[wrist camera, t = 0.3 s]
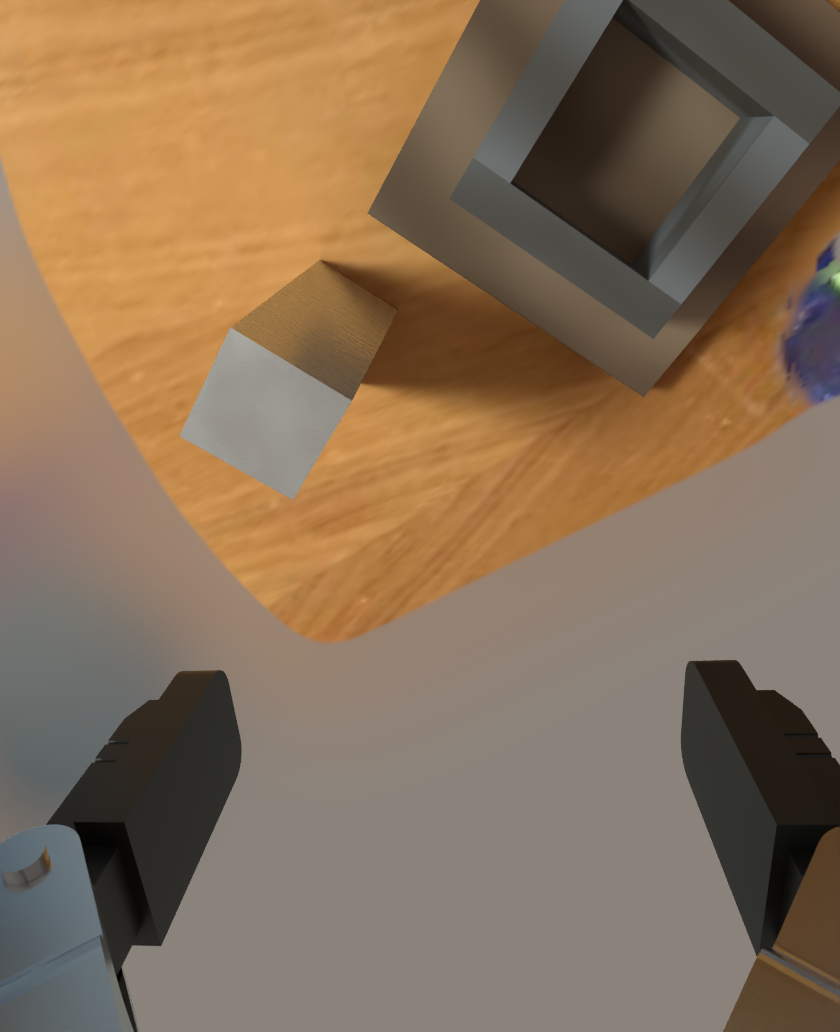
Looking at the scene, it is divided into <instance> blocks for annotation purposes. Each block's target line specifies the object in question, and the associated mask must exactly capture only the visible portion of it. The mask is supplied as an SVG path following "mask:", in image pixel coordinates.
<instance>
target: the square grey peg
mask: <svg viewBox="0 0 840 1032" xmlns="http://www.w3.org/2000/svg"><path fill="white" fill-rule="evenodd" d="M397 311H398V310H397V309H395V308H394V307H392V306H391V305H389V304H388V303H386V302H384V301H383V300H381V299H380V298H378V297H377V296H375V295H374V294H372V293H370V292H369V291H367V290H366V289H364V288H363V287H361V286H360V285H358V284H356V283H355V282H353V281H352V280H350V279H349V278H347V277H345V276H344V275H342V274H341V273H339V272H338V271H336V270H335V269H333V268H331V267H330V266H328V265H327V264H325V263H324V262H322V261H321V260H319V261H318V262H316V263H315V264H314V265H312V266H311V267H310V268H308V269H307V270H306V271H304V272H303V273H302V274H300V275H299V276H298V277H296V278H295V279H294V280H293V281H291V282H290V283H289V284H287V285H286V286H285V287H283V288H282V289H281V290H279V291H278V292H277V293H275V294H274V295H273V296H271V297H270V298H269V299H268V300H266V301H265V302H264V303H262V304H261V305H260V306H258V307H257V308H256V309H254V310H253V311H252V312H250V313H249V314H248V315H246V316H245V317H244V318H242V319H241V320H240V321H239V322H237V323H236V324H235V325H233V326H232V327H231V328H230V330H229V332H228V334H227V336H226V338H225V340H224V343H223V345H222V347H221V349H220V351H219V353H218V355H217V357H216V360H215V362H214V364H213V366H212V368H211V370H210V372H209V374H208V377H207V379H206V381H205V383H204V385H203V387H202V389H201V391H200V394H199V396H198V398H197V400H196V402H195V404H194V406H193V409H192V411H191V413H190V415H189V417H188V419H187V421H186V423H185V426H184V428H183V430H182V432H181V434H180V437H182V438H184V439H186V440H187V441H189V442H191V443H193V444H194V445H196V446H198V447H200V448H202V449H203V450H205V451H207V452H209V453H210V454H212V455H214V456H216V457H218V458H219V459H221V460H223V461H225V462H226V463H228V464H230V465H232V466H234V467H235V468H237V469H239V470H241V471H242V472H244V473H246V474H248V475H250V476H251V477H253V478H255V479H257V480H258V481H260V482H262V483H264V484H266V485H267V486H269V487H271V488H273V489H274V490H276V491H278V492H280V493H281V494H283V495H285V496H287V497H289V498H290V499H292V500H293V499H294V497H295V495H296V494H297V492H298V490H299V489H300V487H301V485H302V484H303V482H304V480H305V479H306V477H307V475H308V474H309V472H310V470H311V469H312V467H313V465H314V464H315V462H316V460H317V459H318V457H319V455H320V453H321V452H322V450H323V448H324V447H325V445H326V443H327V442H328V440H329V438H330V437H331V435H332V433H333V432H334V430H335V428H336V427H337V425H338V423H339V422H340V420H341V418H342V417H343V415H344V413H345V412H346V410H347V408H348V407H349V405H350V403H351V401H352V400H353V398H354V396H355V394H356V392H357V390H358V388H359V386H360V384H361V382H362V380H363V378H364V376H365V374H366V372H367V370H368V368H369V366H370V364H371V362H372V360H373V358H374V357H375V355H376V353H377V351H378V349H379V347H380V345H381V343H382V341H383V339H384V337H385V335H386V333H387V331H388V329H389V327H390V325H391V323H392V321H393V319H394V317H395V315H396V313H397Z"/></svg>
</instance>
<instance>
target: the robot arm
mask: <svg viewBox="0 0 840 1032" xmlns="http://www.w3.org/2000/svg"><path fill="white" fill-rule="evenodd" d="M681 750H682V758H683V764H684V768H685V772H686V775H687V778H688V780H689V783H690V786H691V788H692V791H693V794H694V796H695V799H696V801H697V804H698V806H699V809H700V812H701V814H702V817H703V819H704V822H705V824H706V827H707V829H708V832H709V835H710V837H711V840H712V842H713V845H714V847H715V850H716V853H717V855H718V858H719V860H720V863H721V865H722V868H723V871H724V873H725V876H726V878H727V881H728V884H729V886H730V889H731V891H732V894H733V896H734V899H735V901H736V904H737V906H738V909H739V912H740V914H741V916H742V920H743V922H744V925H745V927H746V930H747V932H748V935H749V938H750V940H751V943H752V945H753V948H754V950H755V953H756V956H757V958H756V960H755V962H754V964H753V967H752V969H751V971H750V973H749V975H748V978H747V980H746V983H745V984H744V987H743V989H742V991H741V993H740V995H739V998H738V1000H737V1002H736V1004H735V1007H734V1009H733V1011H732V1013H731V1015H730V1018H729V1020H728V1022H727V1024H726V1026H725V1029H724V1031H723V1032H840V765H839V763H838V762H837V761H836V759H835V758H832V756H831V752H830V750H829V749H828V747H827V746H826V745H825V743H824V742H823V740H822V739H821V738H818V733H817V732H816V730H815V729H814V727H813V726H812V724H811V723H810V721H809V720H808V719H807V717H806V716H805V714H804V713H803V711H802V710H801V709H800V708H798V707H797V706H796V705H794V704H793V703H791V702H790V701H789V700H787V699H786V698H785V697H783V696H782V695H780V694H779V693H778V692H776V691H775V690H756V689H755V687H754V686H753V684H752V682H751V681H750V679H749V677H748V676H747V674H746V673H745V671H744V669H743V668H742V666H741V665H740V663H739V662H738V661H736V660H719V661H718V660H715V661H690V662H688V664H687V667H686V672H685V686H684V700H683V714H682V728H681ZM240 763H241V740H240V735H239V730H238V725H237V720H236V715H235V711H234V706H233V701H232V696H231V691H230V687H229V682H228V679H227V676H226V674H225V673H224V672H223V671H221V670H217V671H216V670H215V671H181V672H179V673H178V674H177V675H176V676H175V677H174V678H173V680H172V681H171V683H170V684H169V686H168V687H167V689H166V690H165V691H164V693H163V694H162V696H161V697H160V699H159V700H149V701H148V702H146V703H145V704H144V705H142V706H141V707H140V708H138V709H137V710H136V711H134V712H133V713H132V714H130V715H129V716H128V717H127V718H125V719H124V721H123V722H122V723H121V724H120V726H119V727H118V728H117V730H116V731H115V732H114V734H113V735H112V736H111V738H110V739H109V743H108V745H105V746H104V747H103V749H102V750H101V751H100V753H99V754H98V755H97V757H96V761H95V763H92V764H91V765H90V766H89V767H88V769H87V770H86V772H85V773H84V775H83V776H82V777H81V778H80V780H79V781H78V782H77V784H76V785H75V786H74V788H73V789H72V790H71V792H70V793H69V795H68V796H67V797H66V798H65V800H64V801H63V803H62V804H61V805H60V807H59V808H58V809H57V811H56V812H55V813H54V815H53V816H52V817H51V819H50V820H49V821H48V823H47V824H46V825H44V826H38V827H34V828H31V829H28V830H25V831H22V832H20V833H18V834H16V835H14V836H12V837H10V838H8V839H6V840H5V841H3V842H2V843H0V1032H140V1031H139V1027H138V1023H137V1019H136V1015H135V1011H134V1007H133V1003H132V999H131V995H130V991H129V988H128V984H127V980H126V976H125V973H124V970H123V967H122V965H123V962H124V961H125V959H126V957H127V954H128V952H129V950H130V948H131V946H132V945H143V946H145V945H146V946H161V945H162V943H163V940H164V938H165V936H166V934H167V932H168V929H169V927H170V925H171V923H172V920H173V918H174V916H175V914H176V911H177V909H178V907H179V905H180V903H181V900H182V898H183V896H184V894H185V892H186V889H187V887H188V885H189V883H190V880H191V878H192V876H193V874H194V872H195V869H196V867H197V865H198V863H199V861H200V858H201V856H202V854H203V852H204V849H205V847H206V845H207V843H208V841H209V838H210V836H211V834H212V832H213V830H214V827H215V825H216V823H217V821H218V818H219V816H220V814H221V812H222V810H223V807H224V805H225V803H226V801H227V798H228V796H229V794H230V792H231V790H232V787H233V785H234V783H235V781H236V778H237V776H238V772H239V769H240Z"/></svg>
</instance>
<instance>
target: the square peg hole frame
mask: <svg viewBox="0 0 840 1032" xmlns="http://www.w3.org/2000/svg"><path fill="white" fill-rule="evenodd" d="M839 161H840V12H839V11H838V10H836V9H835V8H834V7H833V6H832V5H831V4H829V3H828V2H827V1H826V0H480V2H479V4H478V5H477V7H476V9H475V11H474V13H473V15H472V17H471V19H470V21H469V22H468V24H467V26H466V28H465V30H464V32H463V34H462V36H461V38H460V39H459V41H458V43H457V45H456V47H455V49H454V51H453V53H452V55H451V56H450V58H449V60H448V62H447V64H446V66H445V68H444V70H443V72H442V74H441V75H440V77H439V79H438V81H437V83H436V85H435V87H434V89H433V91H432V92H431V94H430V96H429V98H428V100H427V102H426V104H425V106H424V108H423V109H422V111H421V113H420V115H419V117H418V119H417V121H416V123H415V125H414V126H413V128H412V130H411V132H410V134H409V136H408V138H407V140H406V142H405V144H404V145H403V147H402V149H401V151H400V153H399V155H398V157H397V159H396V161H395V162H394V164H393V166H392V168H391V170H390V172H389V174H388V176H387V178H386V179H385V181H384V183H383V185H382V187H381V189H380V191H379V193H378V195H377V196H376V198H375V200H374V202H373V204H372V206H371V208H370V210H369V212H368V214H369V215H371V216H372V217H374V218H375V219H377V220H378V221H380V222H381V223H383V224H384V225H386V226H387V227H389V228H390V229H392V230H393V231H395V232H396V233H398V234H399V235H401V236H402V237H404V238H405V239H407V240H408V241H410V242H411V243H413V244H414V245H416V246H417V247H419V248H420V249H422V250H423V251H425V252H426V253H428V254H429V255H431V256H432V257H434V258H435V259H437V260H438V261H440V262H441V263H443V264H444V265H446V266H447V267H449V268H450V269H452V270H453V271H455V272H456V273H458V274H459V275H461V276H462V277H464V278H465V279H467V280H468V281H470V282H471V283H473V284H474V285H476V286H477V287H479V288H480V289H482V290H483V291H485V292H486V293H488V294H490V295H491V296H493V297H494V298H496V299H497V300H499V301H500V302H502V303H503V304H505V305H506V306H508V307H509V308H511V309H512V310H514V311H515V312H517V313H518V314H520V315H521V316H523V317H524V318H526V319H527V320H529V321H530V322H532V323H533V324H535V325H536V326H538V327H539V328H541V329H542V330H544V331H545V332H547V333H548V334H550V335H551V336H553V337H554V338H556V339H557V340H559V341H560V342H562V343H563V344H565V345H566V346H568V347H569V348H571V349H572V350H574V351H575V352H577V353H578V354H580V355H581V356H583V357H584V358H586V359H587V360H589V361H590V362H592V363H593V364H595V365H596V366H598V367H599V368H601V369H602V370H604V371H605V372H607V373H608V374H610V375H611V376H613V377H614V378H616V379H617V380H619V381H620V382H622V383H623V384H625V385H626V386H628V387H629V388H631V389H632V390H634V391H635V392H637V393H638V394H640V395H641V396H643V397H644V396H645V395H646V394H647V393H648V391H649V390H650V389H651V388H652V387H653V385H654V384H655V383H656V382H657V380H658V379H659V378H660V377H661V376H662V374H663V373H664V372H665V371H666V370H667V368H668V367H669V366H670V365H671V364H672V362H673V361H674V360H675V359H676V358H677V356H678V355H679V354H680V353H681V352H682V350H683V349H684V348H685V347H686V346H687V344H688V343H689V342H690V341H691V340H692V338H693V337H694V336H695V335H696V333H697V332H698V331H699V330H700V329H701V327H702V326H703V325H704V324H705V323H706V321H707V320H708V319H709V318H710V317H711V315H712V314H713V313H714V312H715V311H716V309H717V308H718V307H719V306H720V305H721V303H722V302H723V301H724V300H725V299H726V297H727V296H728V295H729V294H730V293H731V291H732V290H733V289H734V288H735V286H736V285H737V284H738V283H739V282H740V280H741V279H742V278H743V277H744V276H745V274H746V273H747V272H748V271H749V270H750V268H751V267H752V266H753V265H754V264H755V262H756V261H757V260H758V259H759V258H760V256H761V255H762V254H763V253H764V252H765V250H766V249H767V248H768V247H769V246H770V244H771V243H772V242H773V241H774V239H775V238H776V237H777V236H778V235H779V233H780V232H781V231H782V230H783V229H784V227H785V226H786V225H787V224H788V223H789V221H790V220H791V219H792V218H793V217H794V215H795V214H796V213H797V212H798V211H799V209H800V208H801V207H802V206H803V205H804V203H805V202H806V201H807V200H808V199H809V197H810V196H811V195H812V194H813V192H814V191H815V190H816V189H817V188H818V186H819V185H820V184H821V183H822V182H823V180H824V179H825V178H826V177H827V176H828V174H829V173H830V172H831V171H832V170H833V168H834V167H835V166H836V165H837V164H838V162H839Z"/></svg>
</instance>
